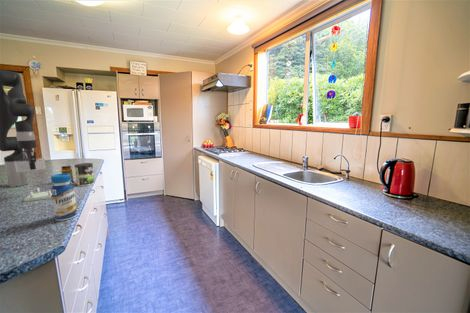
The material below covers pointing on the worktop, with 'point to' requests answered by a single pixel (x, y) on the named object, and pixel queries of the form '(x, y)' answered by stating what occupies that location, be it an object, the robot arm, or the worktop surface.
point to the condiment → (67, 171)
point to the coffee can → (84, 174)
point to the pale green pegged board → (38, 195)
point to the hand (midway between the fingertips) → (31, 168)
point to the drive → (24, 165)
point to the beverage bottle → (63, 197)
